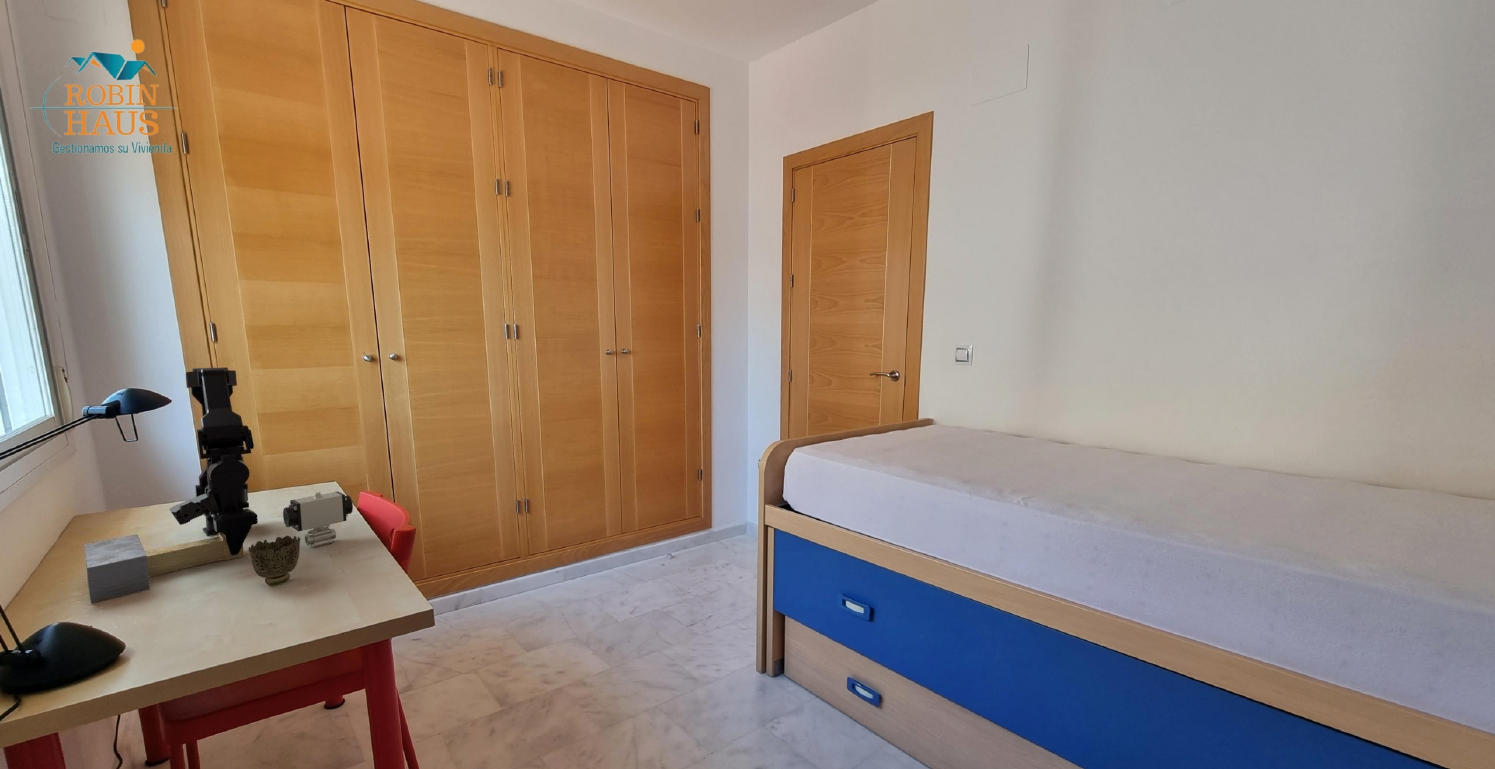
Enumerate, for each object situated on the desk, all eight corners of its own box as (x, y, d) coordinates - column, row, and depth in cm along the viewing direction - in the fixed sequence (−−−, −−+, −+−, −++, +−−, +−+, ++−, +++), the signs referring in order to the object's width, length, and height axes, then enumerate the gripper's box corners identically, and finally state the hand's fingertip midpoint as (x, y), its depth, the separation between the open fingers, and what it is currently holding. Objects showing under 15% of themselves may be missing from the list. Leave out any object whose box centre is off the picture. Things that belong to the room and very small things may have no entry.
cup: (300, 570, 109) (298, 532, 108) (305, 582, 104) (302, 542, 103) (250, 582, 104) (247, 541, 103) (252, 595, 99) (249, 552, 98)
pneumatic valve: (355, 538, 126) (352, 488, 125) (291, 554, 117) (287, 500, 116) (346, 533, 130) (343, 484, 129) (284, 548, 120) (280, 496, 119)
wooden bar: (239, 550, 119) (237, 529, 118) (244, 556, 116) (242, 534, 115) (136, 573, 107) (134, 550, 107) (139, 580, 104) (136, 556, 104)
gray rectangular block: (140, 564, 112) (137, 534, 111) (149, 589, 101) (146, 555, 100) (87, 576, 106) (83, 544, 106) (90, 603, 95) (87, 568, 95)
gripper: (166, 480, 114) (172, 552, 116) (177, 496, 103) (184, 576, 104) (237, 471, 123) (242, 537, 124) (255, 484, 112) (260, 558, 113)
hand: (232, 551), depth 116 cm, fingers closed on wooden bar, 5 cm apart
